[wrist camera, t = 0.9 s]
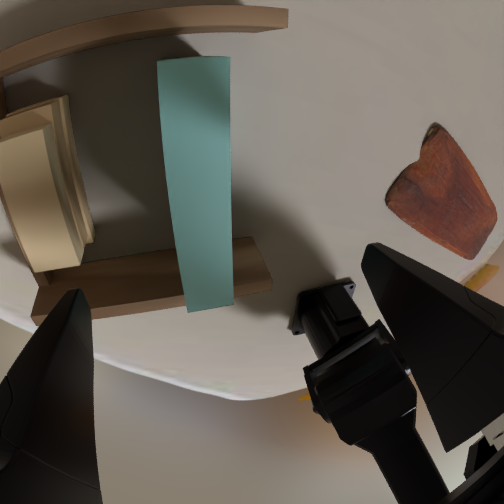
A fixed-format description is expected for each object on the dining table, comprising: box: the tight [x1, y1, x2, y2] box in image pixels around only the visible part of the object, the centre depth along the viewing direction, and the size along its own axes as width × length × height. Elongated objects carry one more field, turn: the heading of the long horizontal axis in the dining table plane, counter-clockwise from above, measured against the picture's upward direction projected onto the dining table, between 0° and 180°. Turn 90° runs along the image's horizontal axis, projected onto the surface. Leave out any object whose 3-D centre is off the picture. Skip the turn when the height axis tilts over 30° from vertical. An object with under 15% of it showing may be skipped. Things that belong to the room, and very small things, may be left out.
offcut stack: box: [0, 94, 96, 273], centre depth 15 cm, size 10×4×4 cm, turn 178°
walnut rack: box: [0, 5, 288, 326], centre depth 15 cm, size 17×17×5 cm
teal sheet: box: [157, 56, 234, 313], centre depth 15 cm, size 12×2×8 cm, turn 179°
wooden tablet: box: [386, 126, 497, 260], centre depth 30 cm, size 27×10×2 cm, turn 60°
